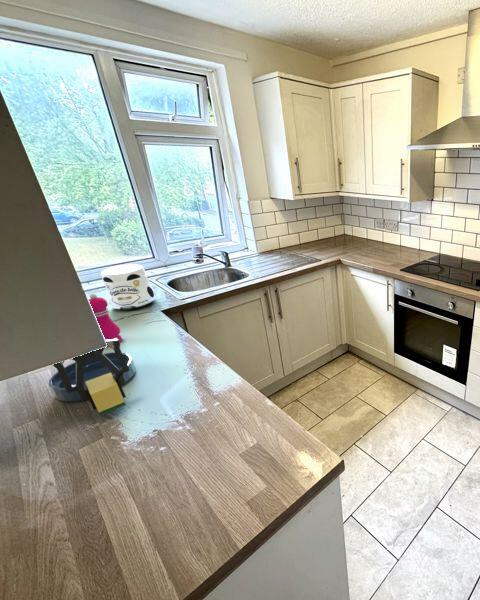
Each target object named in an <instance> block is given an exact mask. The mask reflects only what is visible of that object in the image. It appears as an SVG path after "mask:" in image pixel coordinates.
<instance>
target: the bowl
mask: <svg viewBox="0 0 480 600" xmlns="http://www.w3.org/2000/svg"><path fill="white" fill-rule="evenodd" d="M103 353H104V355H105V356H106V357H107V358H108V359H109V360H110V361H111V362H112V363H113V364H114V365H115V366H116V367H117V368H118V369H120V368H121V364H120V362H119V360H118V358H117V356H116V354H115V352H114V351H113V352H103ZM122 354H123V356H124V358H125V361H126V363H127V365H128V367H129V371H128V372H125V373H124V374H123V377H124V380H125V382H126V383H127V382H129V381H130V380H131V379H132V378H133V376H134V375H135V373H136V366H135V364H134V360H133V358H132V356H131V354H129V353H126V352H122ZM64 368H65V370H66V373H67V375H68V378H69V380H70V382H71V385H76V365H75V361H74V362H72V363H70V364H68V365H66V366H64ZM108 373H111V374H112V375H115V374H114V373H113V372H112V371H111V370H110V369H109V368H108V367H107V366H106V365H105V364H104V363H103V362H102V361H101V360H99V359H98V358H96V359H91V360H89V361H87V362H84V386H85V385H86V383H85V382H86V381H88V380H91V379H94V378H97V377H100V376H102V375H105V374H108ZM48 386H49V388H50V390H51V392H52V395H54V398H55V399H57V400H58V401H64V402H81V401H83V400H82V399H81V397H80V395H79V393H78V392H77V391H73V392H71V393H68V392H67V391H66V389H65V386H64V384H63V382H62V380H61V377H60V375H59V373H58V371H56V372H55V373H54V374H53V375H52V376H51V377H50V378H49V380H48Z"/></svg>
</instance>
